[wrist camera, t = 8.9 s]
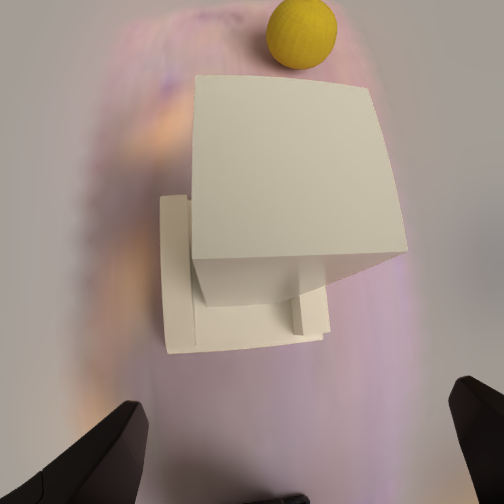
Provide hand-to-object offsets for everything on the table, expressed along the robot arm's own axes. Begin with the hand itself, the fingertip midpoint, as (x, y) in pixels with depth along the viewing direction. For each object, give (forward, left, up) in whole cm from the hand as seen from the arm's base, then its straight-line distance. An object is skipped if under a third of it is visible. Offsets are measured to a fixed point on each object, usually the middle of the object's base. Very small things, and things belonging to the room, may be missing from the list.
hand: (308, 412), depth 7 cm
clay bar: (+6, 0, -10) cm, 12 cm away
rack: (+6, 0, -12) cm, 13 cm away
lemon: (+24, -6, -12) cm, 27 cm away
